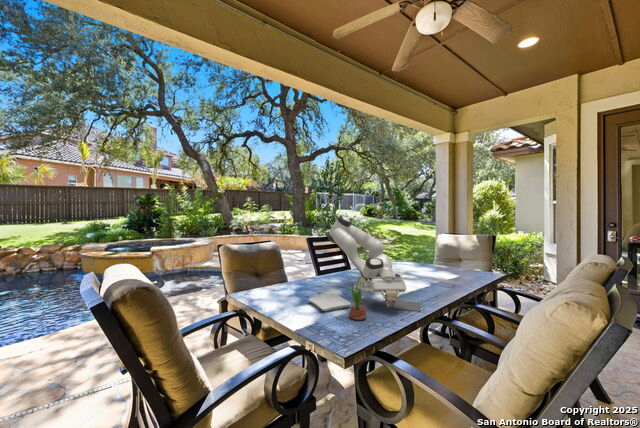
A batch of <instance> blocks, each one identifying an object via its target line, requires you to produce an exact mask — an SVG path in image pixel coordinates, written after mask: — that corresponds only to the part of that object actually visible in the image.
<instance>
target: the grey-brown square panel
mask: <svg viewBox="0 0 640 428" xmlns="http://www.w3.org/2000/svg"><path fill="white" fill-rule="evenodd" d="M393 309H394V310H402V311H409V312H418V313H421V312H422V307H421V302H418V301H409V300H401V299H397V300H396V308H395V307H394V306H393Z"/></svg>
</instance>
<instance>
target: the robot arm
mask: <svg viewBox="0 0 640 428" xmlns="http://www.w3.org/2000/svg"><path fill="white" fill-rule="evenodd" d="M327 238H328V240H329V242H331V243H332V244H336V245H337V246H338V247H339V248H340V249H341V250H342V251H343V253H345V255H346V256H347V258H348V259H349V261H350V262H351V263H352V264H353V265H354V267H356V269H357V270H358V271H359V273H360V277H365V278H366V281H365V279H364V278H363V279H360V280H361V281H362V280H363V284H362V285H361V284H360V285H358V287H357V289H359V287H360V286H361V291H366V292H372V293H373V292H374V293H380V294H381V296H382V297H383V299H385V298H386V295H385V292H384V290H396V291H397V293H398V295H397V299H399V298H400V297H399V294H400V293H405V292H406V290H407V286H406V283H405V281H404V279H403V275H402V274H400V273H395V272H394V271H393V264H392V260H391V258H390V256H388V255H387V254H384V250H385V245H384V243H383V242H382V241H381V240H380V239H377V238H375V237H373V236H371V234H368V233H367V232H365V230H364V231H363V230H362V229H360V228H358V227H356V226H355V225H352V222H351V220H350V218H349V217H347V216H345V215H339V217H338V218H337V220H336V221H334V223H333V225H332V226H331V228H330V230H329V232H328V234H327ZM357 245H358V246H359V247H362V248H363V249H365V250H366V251H368V254H367V255H368V256H367V259H366V261H365V262H364V260H362V259H361V258H360V256H359V253H358V248H357ZM361 275H362V276H361ZM368 279H369V280H370V282H368V281H367V280H368ZM360 280H359V283H360V282H361V281H360ZM357 281H358V279H357ZM357 281H356V282H357ZM364 283H366V284H367V285H366V286H363V285H364ZM356 285H357V283H355V284H354V285H353V288H354V290H356Z"/></svg>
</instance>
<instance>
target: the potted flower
mask: <svg viewBox="0 0 640 428" xmlns="http://www.w3.org/2000/svg"><path fill="white" fill-rule="evenodd" d="M361 276H362V275H361V274H360V277H359V278H358V279H357V280H358V281H356V284H357V285H356V289H354V285H353V283H352V281H350V291H351V295H352V298H353V302H354V304H355V305H350V310H349V312H348V316H349V317H350V319H352V320H355V321H362V320H364V319H366V317H367V312H366V307H365V306H363V305H360V302H361V301H362V300H364V299H365V296H364V295H363V292H362V290H361V286H360V287H359V289H357V287H358V285H360V284H361V285H362V284H363V280H362V281H361V280H360V279H363V278H364V279H365V281H366V278H365V277H361ZM359 280H360V281H361V282H360V283H359ZM367 281H368V282H370V280H369V279H368V280H367ZM366 285H367V284H366V283H364V285H363V286H366Z"/></svg>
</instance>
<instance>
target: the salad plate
mask: <svg viewBox="0 0 640 428" xmlns="http://www.w3.org/2000/svg"><path fill="white" fill-rule="evenodd" d="M308 302H309V303H311V304H312V305H315V306H316V307H317V308H318V309H320V310H321V311H323V312H328V311H334V310H339V309H344V308H348V307H349V306H350V307H351V306H352V303H351V302H350V301H348V300H346V299H345V298H343V297H341V296H340V295H338V294H337V293H334V294H328V295H323V296H317V297H311V298H308Z"/></svg>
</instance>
